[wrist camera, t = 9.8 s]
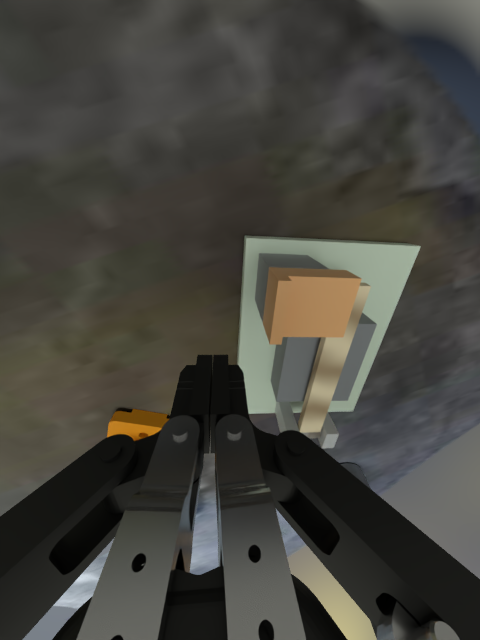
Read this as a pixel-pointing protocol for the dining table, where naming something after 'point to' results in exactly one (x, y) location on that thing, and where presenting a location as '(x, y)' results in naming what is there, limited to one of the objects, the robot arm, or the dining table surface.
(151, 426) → the bracket
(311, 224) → the dining table surface
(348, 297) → the block
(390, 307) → the board
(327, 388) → the strap
